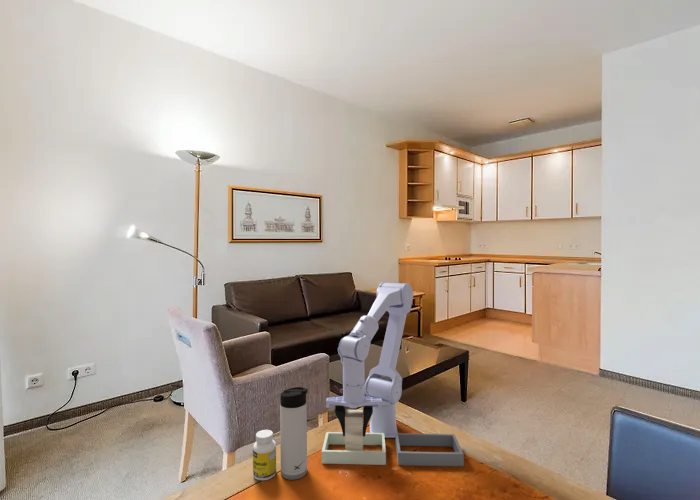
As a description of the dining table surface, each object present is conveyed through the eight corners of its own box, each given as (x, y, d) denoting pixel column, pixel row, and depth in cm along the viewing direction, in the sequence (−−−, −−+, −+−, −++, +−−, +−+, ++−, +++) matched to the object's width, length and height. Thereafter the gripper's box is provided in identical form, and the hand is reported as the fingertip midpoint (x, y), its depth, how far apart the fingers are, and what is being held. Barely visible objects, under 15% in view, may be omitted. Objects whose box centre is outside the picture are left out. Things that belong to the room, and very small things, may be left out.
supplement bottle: (248, 477, 87) (247, 435, 87) (263, 465, 92) (263, 426, 92) (266, 484, 85) (265, 441, 85) (281, 471, 90) (280, 430, 90)
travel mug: (303, 482, 85) (302, 395, 85) (276, 478, 87) (275, 393, 87) (311, 466, 91) (311, 385, 92) (286, 463, 93) (285, 383, 93)
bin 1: (326, 442, 103) (326, 432, 103) (384, 443, 102) (384, 432, 102) (321, 463, 93) (321, 451, 93) (385, 464, 92) (385, 452, 92)
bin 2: (395, 444, 102) (395, 433, 102) (454, 445, 101) (454, 434, 101) (398, 465, 92) (398, 452, 92) (463, 466, 91) (463, 454, 91)
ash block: (346, 443, 100) (346, 409, 100) (363, 443, 99) (362, 409, 99) (345, 452, 95) (344, 417, 95) (362, 452, 95) (362, 417, 95)
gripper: (324, 387, 94) (324, 441, 94) (382, 388, 93) (382, 442, 93) (327, 378, 101) (328, 428, 101) (381, 378, 100) (381, 429, 100)
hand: (354, 434), depth 97 cm, fingers closed on ash block, 4 cm apart
